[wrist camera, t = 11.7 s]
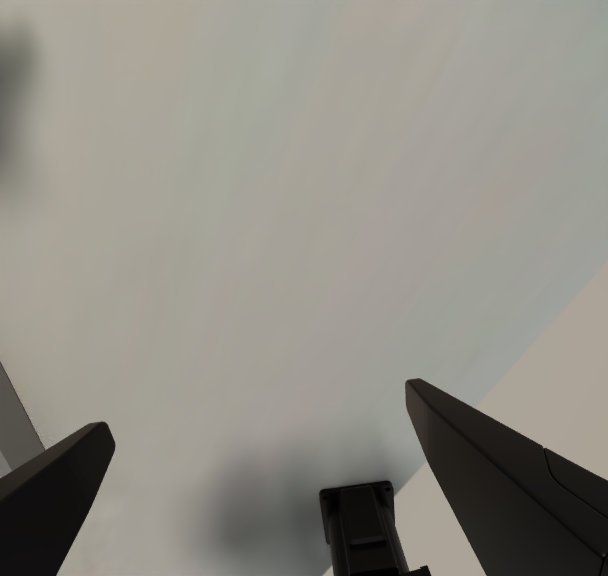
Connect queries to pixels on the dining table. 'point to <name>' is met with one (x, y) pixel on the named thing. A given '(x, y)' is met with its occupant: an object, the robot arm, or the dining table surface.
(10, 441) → the organizer
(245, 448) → the dining table surface
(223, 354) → the dining table surface
